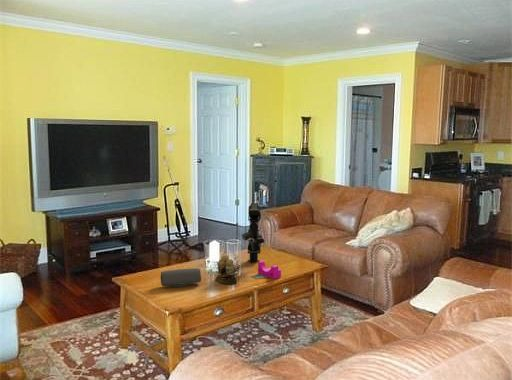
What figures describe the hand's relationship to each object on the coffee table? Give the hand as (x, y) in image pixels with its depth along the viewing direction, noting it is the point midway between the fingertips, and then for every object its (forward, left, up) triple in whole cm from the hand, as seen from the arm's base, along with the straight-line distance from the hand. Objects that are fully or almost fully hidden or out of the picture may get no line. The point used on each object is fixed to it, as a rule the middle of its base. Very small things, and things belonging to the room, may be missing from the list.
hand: (253, 250), depth 303 cm
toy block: (+19, +1, -12) cm, 22 cm away
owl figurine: (+16, -28, -12) cm, 35 cm away
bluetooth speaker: (+11, -56, -12) cm, 58 cm away
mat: (+18, -2, -12) cm, 22 cm away
